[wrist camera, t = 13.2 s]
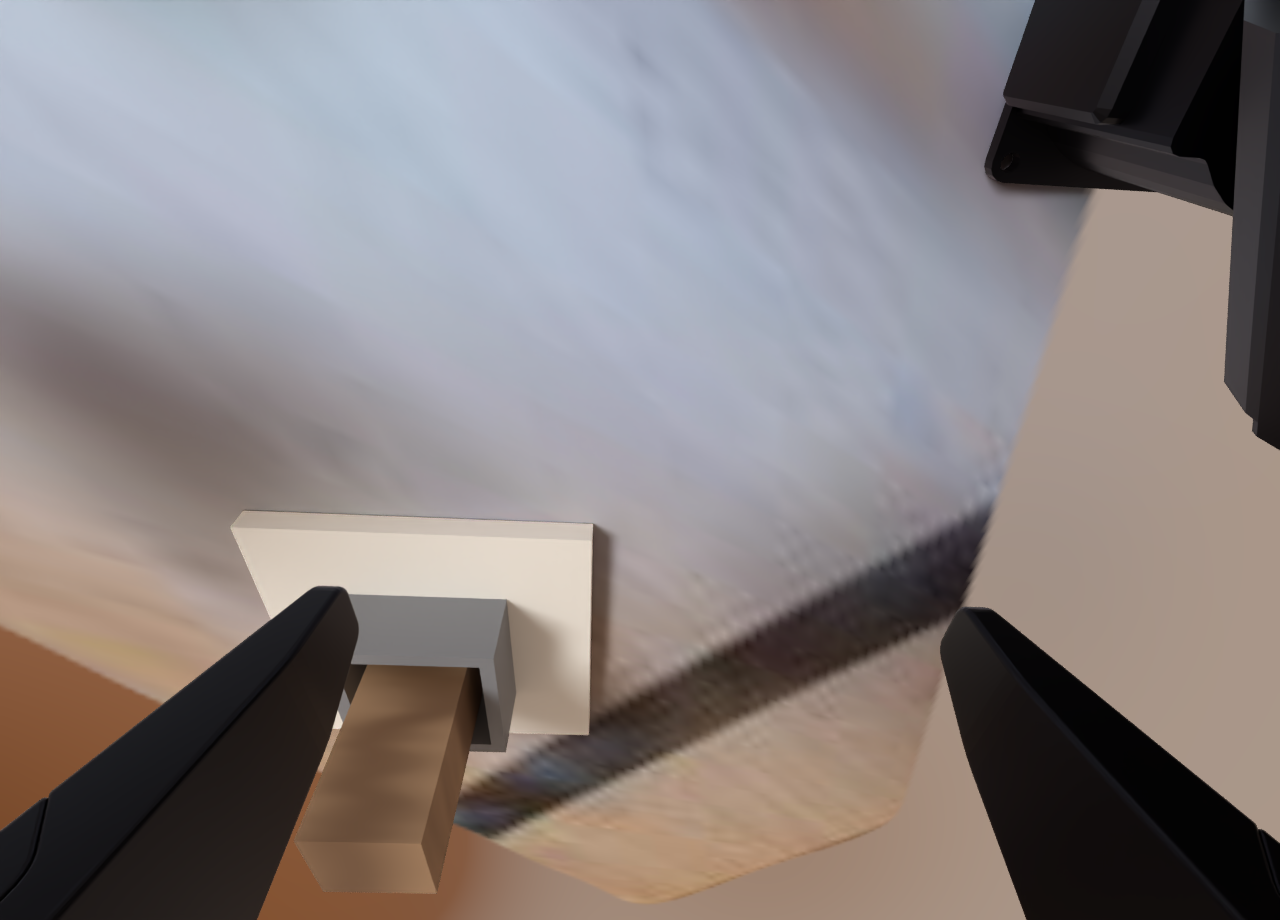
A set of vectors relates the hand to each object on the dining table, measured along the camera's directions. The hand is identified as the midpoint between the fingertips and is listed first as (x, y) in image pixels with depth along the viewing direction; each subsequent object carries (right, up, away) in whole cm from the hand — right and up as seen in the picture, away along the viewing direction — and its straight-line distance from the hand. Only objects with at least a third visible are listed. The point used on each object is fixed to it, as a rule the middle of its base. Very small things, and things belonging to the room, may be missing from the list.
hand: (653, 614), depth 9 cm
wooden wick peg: (-9, -6, +19) cm, 22 cm away
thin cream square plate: (-10, -6, +20) cm, 23 cm away
